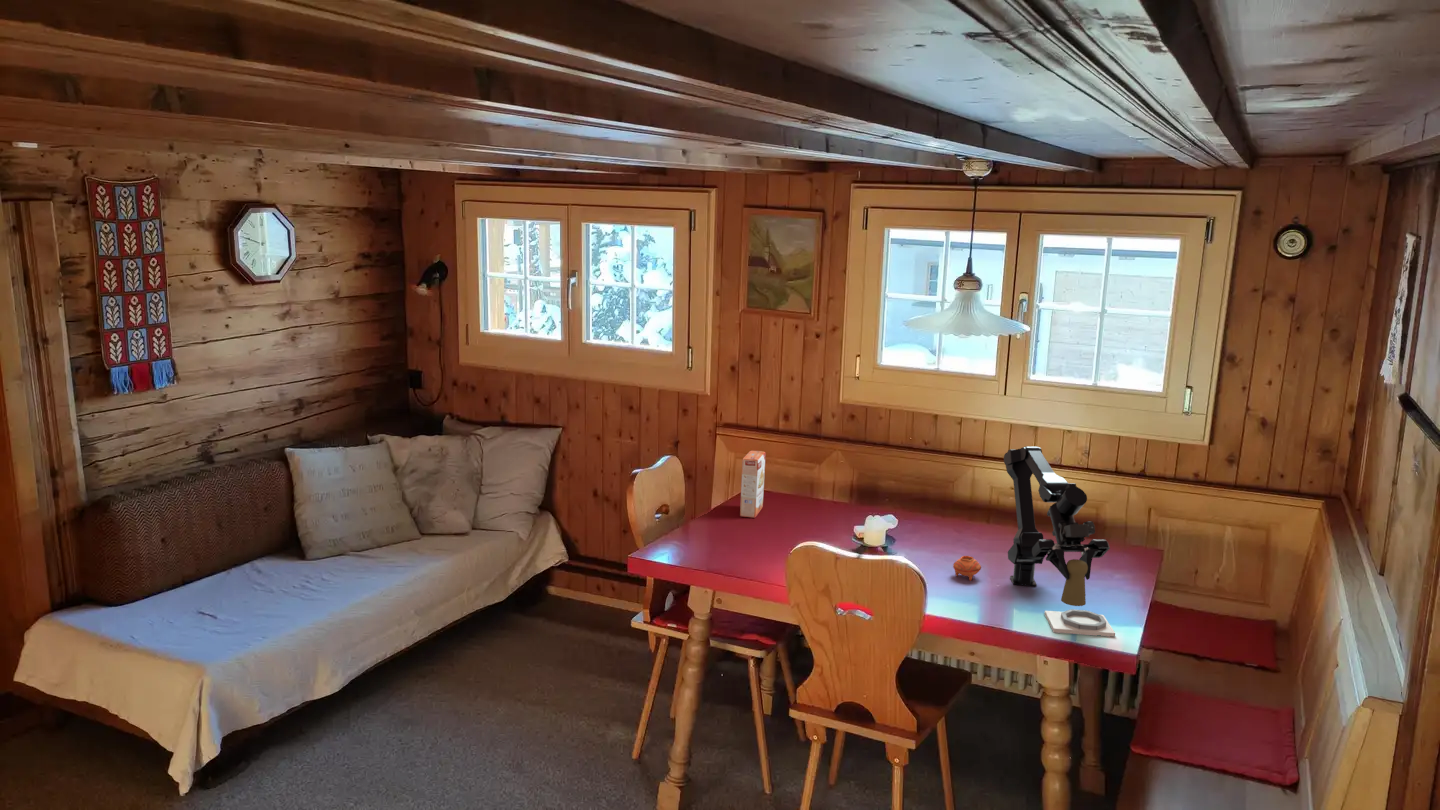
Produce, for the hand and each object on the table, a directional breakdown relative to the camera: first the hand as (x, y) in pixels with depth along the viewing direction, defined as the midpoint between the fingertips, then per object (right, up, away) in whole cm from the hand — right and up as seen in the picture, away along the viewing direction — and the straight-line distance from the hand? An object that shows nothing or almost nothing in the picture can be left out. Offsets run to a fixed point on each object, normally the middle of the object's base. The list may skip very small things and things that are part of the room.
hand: (1078, 579), depth 252 cm
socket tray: (+2, -13, +4) cm, 14 cm away
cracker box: (-80, +6, +97) cm, 126 cm away
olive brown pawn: (0, -6, +3) cm, 7 cm away
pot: (-19, -6, +38) cm, 43 cm away
